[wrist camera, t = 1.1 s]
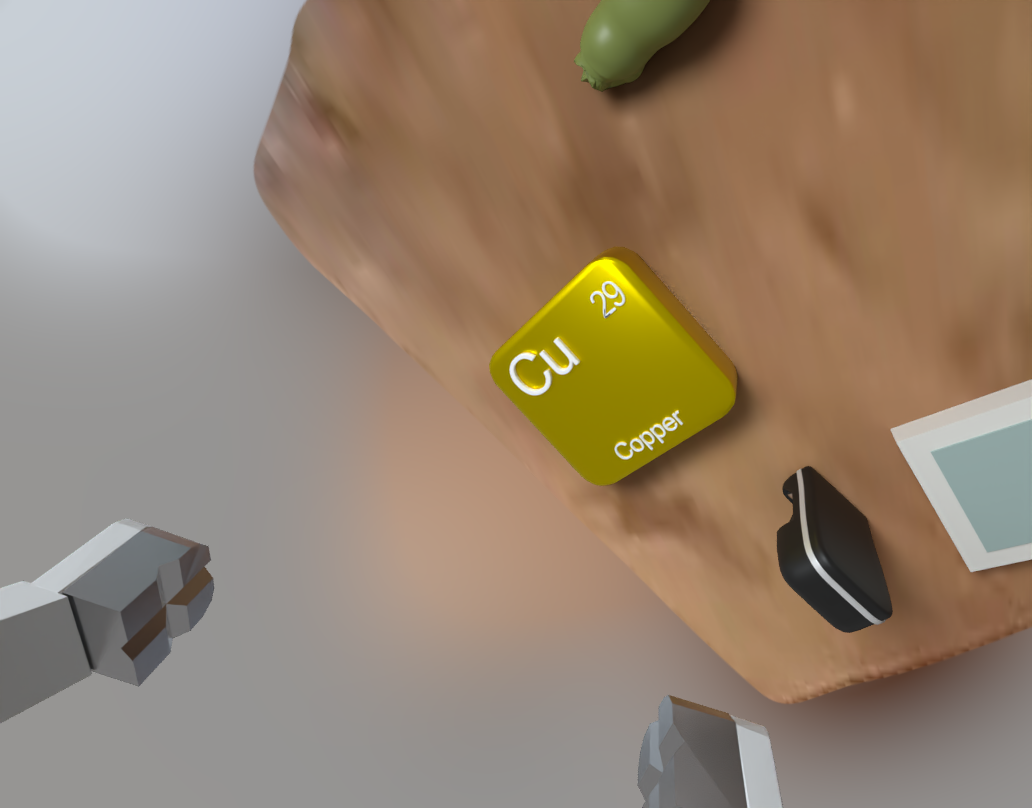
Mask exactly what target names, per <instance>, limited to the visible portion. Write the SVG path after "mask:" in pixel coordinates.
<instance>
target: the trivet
mask: <svg viewBox="0 0 1032 808" xmlns="http://www.w3.org/2000/svg"><path fill="white" fill-rule="evenodd" d="M891 432H892V434H893V436H894V438H895V441H896V443H897V445H898V446H899V448H900V450H901V452H902V453H903V455H904V457H905V459H906V460H907V462H908V464H909V466H910V467H911V469H912V471H913V472H914V474H915V476H916V478H917V479H918V481H919V483H920V485H921V486H922V488H923V490H924V492H925V493H926V495H927V497H928V499H929V500H930V502H931V504H932V506H933V507H934V509H935V511H936V513H937V514H938V516H939V518H940V519H941V521H942V523H943V525H944V526H945V528H946V530H947V532H948V533H949V535H950V537H951V539H952V540H953V542H954V544H955V546H956V547H957V549H958V551H959V553H960V554H961V556H962V558H963V560H964V561H965V563H966V565H967V567H968V568H969V570H970V572H974V571H979V570H984V569H988V568H993V567H998V566H1003V565H1007V564H1012V563H1017V562H1022V561H1026V560H1031V559H1032V379H1031V380H1028V381H1026V382H1023V383H1020V384H1017V385H1014V386H1011V387H1008V388H1006V389H1003V390H1000V391H997V392H994V393H991V394H989V395H986V396H983V397H980V398H977V399H974V400H972V401H969V402H966V403H963V404H960V405H957V406H954V407H952V408H949V409H946V410H943V411H940V412H937V413H935V414H932V415H929V416H926V417H923V418H920V419H917V420H915V421H912V422H909V423H906V424H903V425H900V426H898V427H895V428H892V429H891Z"/></svg>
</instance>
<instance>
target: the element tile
mask: <svg viewBox="0 0 1032 808" xmlns="http://www.w3.org/2000/svg"><path fill="white" fill-rule="evenodd" d="M489 368H490V374H491V376H492V379H493V381H494V382H495V384H496V385H497V386H498V387H499V388H500V389H501V390H502V391H503V393H504V394H505V395H506V396H507V397H508V398H509V399H510V400H511V401H512V402H513V403H514V404H515V405H516V406H517V408H518V409H519V410H520V411H521V412H522V413H523V414H524V415H525V416H526V417H527V418H528V419H529V420H530V422H531V423H532V424H533V425H534V426H535V427H536V428H537V429H538V430H539V431H540V432H541V433H542V434H543V436H544V437H545V438H546V439H547V440H548V441H549V442H550V443H551V444H552V445H553V446H554V447H555V448H556V450H557V451H558V452H559V453H560V454H561V455H562V456H563V457H564V458H565V459H566V460H567V461H568V462H569V463H570V465H571V466H572V467H573V468H574V469H575V470H576V471H577V472H578V473H579V474H580V475H581V476H582V477H583V478H584V479H585V480H587V481H589V482H590V483H592V484H594V485H599V486H606V485H611V484H613V483H616V482H618V481H619V480H621V479H622V478H624V477H626V476H627V475H629V474H631V473H632V472H634V471H636V470H637V469H639V468H640V467H642V466H644V465H645V464H647V463H649V462H650V461H652V460H653V459H655V458H657V457H658V456H660V455H662V454H663V453H665V452H667V451H668V450H670V449H671V448H673V447H675V446H676V445H678V444H680V443H681V442H683V441H684V440H686V439H688V438H689V437H691V436H693V435H694V434H696V433H698V432H699V431H701V430H702V429H704V428H706V427H707V426H709V425H711V424H712V423H714V422H715V421H717V420H719V419H720V418H722V417H723V416H725V415H726V414H727V413H728V412H729V411H730V409H731V408H732V407H733V405H734V404H735V399H736V390H737V377H738V376H737V372H736V369H735V366H734V365H733V363H732V361H731V360H730V359H729V358H728V357H727V355H726V354H725V353H724V352H723V351H722V350H721V349H720V347H719V346H718V345H717V344H716V343H715V342H714V341H713V339H712V338H711V337H710V336H709V335H708V334H707V333H706V332H705V330H704V329H703V328H702V327H701V326H700V325H699V324H698V322H697V321H696V320H695V319H694V318H693V317H692V316H691V314H690V313H689V312H688V311H687V310H686V309H685V308H684V307H683V305H682V304H681V303H680V302H679V301H678V300H677V299H676V297H675V296H674V295H673V294H672V293H671V292H670V291H669V289H668V288H667V287H666V286H665V285H664V284H663V283H662V282H661V280H660V279H659V278H658V277H657V276H656V275H655V274H654V272H653V271H652V270H651V269H650V268H649V267H648V266H647V264H646V263H645V262H644V261H643V260H642V259H641V258H640V256H639V255H638V254H636V253H635V252H633V251H631V250H629V249H627V248H625V247H613V248H610V249H607V250H605V251H603V252H602V253H601V254H599V255H598V256H597V257H596V258H594V259H593V260H592V261H591V262H590V263H588V264H587V265H586V266H585V267H584V268H583V269H582V270H581V271H580V272H579V273H578V274H577V275H576V276H575V277H574V278H573V279H571V280H570V281H569V282H568V283H567V284H566V285H565V286H564V287H563V288H562V289H561V290H560V291H559V292H558V293H557V294H556V295H555V296H554V297H553V298H551V299H550V300H549V301H548V302H547V303H546V304H545V305H544V306H543V307H542V308H541V309H540V310H539V311H538V312H537V313H536V314H535V315H534V316H533V317H531V318H530V319H529V320H528V321H527V322H526V323H525V324H524V325H523V326H522V327H521V328H520V329H519V330H518V331H517V332H516V333H515V334H514V335H513V336H511V337H510V338H509V339H508V340H507V341H506V342H505V343H504V344H503V345H502V346H501V347H500V348H499V349H498V350H497V351H496V352H495V353H494V355H493V356H492V358H491V361H490V364H489Z"/></svg>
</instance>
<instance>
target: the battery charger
mask: <svg viewBox="0 0 1032 808" xmlns="http://www.w3.org/2000/svg"><path fill="white" fill-rule="evenodd" d="M783 494H784V495H785V497H786V498H787V499H788V500H789V501H790V502H791V503H792V504H793V515H792V517H791V520H790V522H788V523H787V524H785V525H783V526H782V527H781V528H780V529H779V530H778V531H777V553H778V560H779V567H780V571H781V573H782V576H783V578H784V579H785V581H786V582H787V583H788V585H789V586H790V587H791V588H792V589H793V590H794V591H795V592H796V593H797V594H798V595H799V596H801V597H802V598H803V599H804V600H805V601H806V602H807V603H808V604H809V605H810V606H811V607H812V608H813V609H814V610H816V611H817V612H818V613H819V614H820V615H821V616H822V617H823V618H825V619H826V620H827V621H828V622H829V623H830V624H831V625H832V626H834V627H835V628H837V629H839V630H841V631H843V632H848V633H850V632H854V631H858V630H861V629H863V628H866V627H868V626H871V625H873V624H881V623H883V622H885V621H886V619H888V618H890V617H891V615H892V612H893V610H892V604H891V600H890V596H889V592H888V588H887V585H886V581H885V578H884V574H883V571H882V568H881V565H880V561H879V558H878V555H877V552H876V549H875V546H874V543H873V539H872V536H871V532H870V528H869V525H868V521H867V519H866V517H865V516H864V515H863V514H862V513H861V512H859V511H858V510H857V509H856V508H855V507H854V506H853V505H852V504H851V503H850V502H849V501H848V500H847V499H846V498H845V497H843V496H842V495H841V494H840V493H839V492H838V491H837V490H836V489H835V488H834V487H833V486H832V485H830V484H829V483H828V482H827V481H826V480H825V479H824V478H823V477H822V476H821V475H819V474H818V473H817V472H816V471H815V470H814V469H813V468H812V467H809V466H807V467H804V468H803V469H799V470H797V472H796V473H795V474H793V475H792V476H790V477H789V478H788V479H787V480H786V481H785V483H784V484H783Z"/></svg>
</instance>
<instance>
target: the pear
mask: <svg viewBox="0 0 1032 808" xmlns="http://www.w3.org/2000/svg"><path fill="white" fill-rule="evenodd" d="M709 1H710V0H601V2H600V3H599V5H598V6H597V7H596V9H595V10H594V11H593V13H592V14H591V16H590V18H589V19H588V21H587V23H586V25H585V28H584V31H583V34H582V37H581V42H580V48H581V51H580V53H579V54H578V55H577V56H576V58H575V60H574V62H575V63H576V65H578V66H580V67H582V68H583V70H584V71H583V75H582V78H583V79H581V81H584V82H589V83H590V84H591V86H592V88H594V89H596V90H599V91H601V92H602V91H604V90H606V89H609V88H611V87H616V86H619V85H622V84H624V83H630V82H633V81H635V80H636V79H637V78H638V77H639V76H640V75H641V73H642V72H643V70H644V67H645V64H646V63H647V62H648V61H649V59H650V58H651V57H652V56H653V55H654V54H655V53H656V52H657V51H658V50H659V49H660V48H662V47H664V46H666V45H667V44H669V43H671V42H672V41H674V40H675V39H676V38H678V37H679V36H680V35H681V34H682V33H683V32H684V31H685V30H686V29H687V28H688V27H689V26H690V25H691V24H692V23H693V22H694V21H695V20H696V19H697V17H698V16H699V15H700V14H701V12H702V11H703V10H704V9H705V7H706V6H707V4H708V3H709ZM585 72H586V73H585ZM583 76H584V77H583Z"/></svg>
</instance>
